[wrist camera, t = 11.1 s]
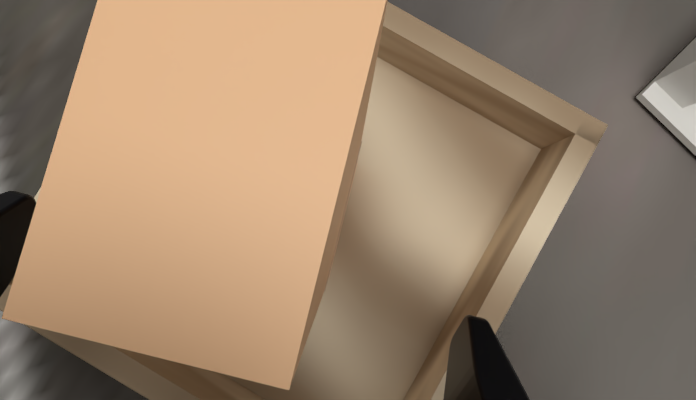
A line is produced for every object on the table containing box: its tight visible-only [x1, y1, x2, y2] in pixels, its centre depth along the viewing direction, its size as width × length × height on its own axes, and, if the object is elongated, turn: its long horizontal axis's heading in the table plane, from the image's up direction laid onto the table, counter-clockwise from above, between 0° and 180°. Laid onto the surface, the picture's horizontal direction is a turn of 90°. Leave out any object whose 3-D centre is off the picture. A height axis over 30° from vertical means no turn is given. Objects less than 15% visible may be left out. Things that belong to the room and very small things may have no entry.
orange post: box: [2, 0, 388, 390], centre depth 11 cm, size 4×3×13 cm, turn 166°
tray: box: [0, 2, 608, 400], centre depth 17 cm, size 15×15×3 cm
